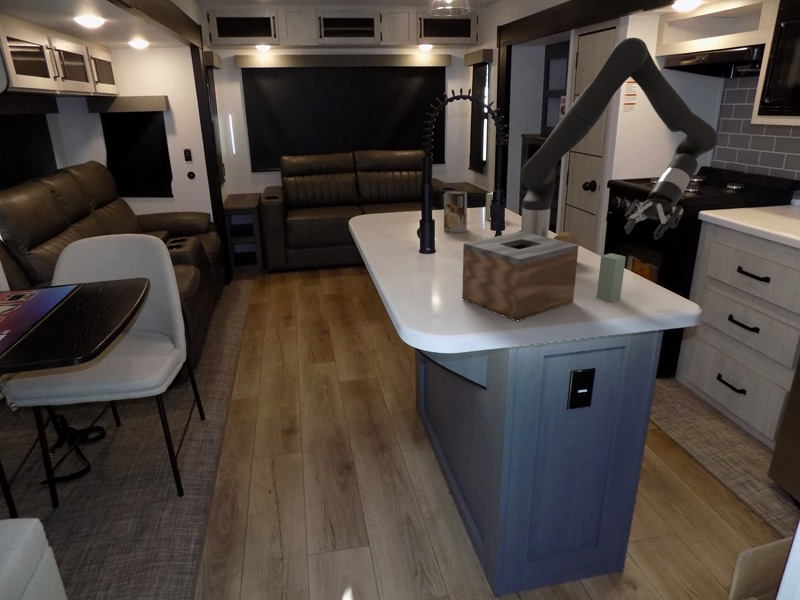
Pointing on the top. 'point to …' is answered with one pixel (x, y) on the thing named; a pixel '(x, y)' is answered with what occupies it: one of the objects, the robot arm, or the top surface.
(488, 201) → the skincare box
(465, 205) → the coffee box
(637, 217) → the robot arm
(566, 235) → the natural sponge
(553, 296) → the box
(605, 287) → the sage peg
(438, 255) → the top surface
